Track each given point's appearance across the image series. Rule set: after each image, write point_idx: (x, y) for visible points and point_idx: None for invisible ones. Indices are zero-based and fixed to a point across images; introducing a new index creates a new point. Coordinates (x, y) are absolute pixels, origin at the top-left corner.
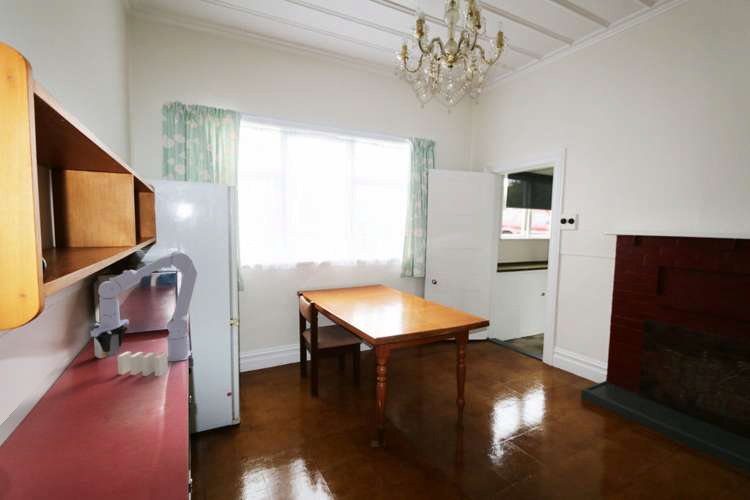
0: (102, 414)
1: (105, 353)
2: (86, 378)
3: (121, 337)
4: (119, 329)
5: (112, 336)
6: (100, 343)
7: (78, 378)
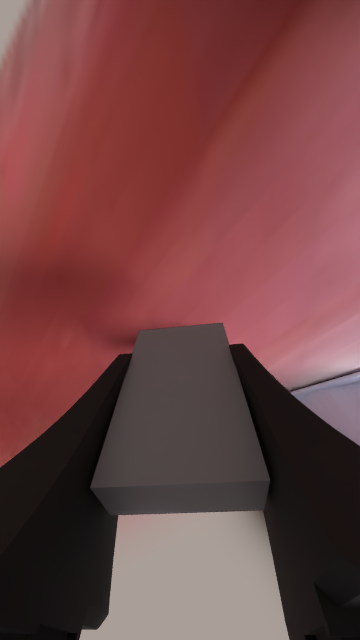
0: (12, 446)
1: (136, 344)
2: (88, 239)
3: None
4: (293, 616)
5: (168, 510)
6: (69, 420)
7: (69, 195)
